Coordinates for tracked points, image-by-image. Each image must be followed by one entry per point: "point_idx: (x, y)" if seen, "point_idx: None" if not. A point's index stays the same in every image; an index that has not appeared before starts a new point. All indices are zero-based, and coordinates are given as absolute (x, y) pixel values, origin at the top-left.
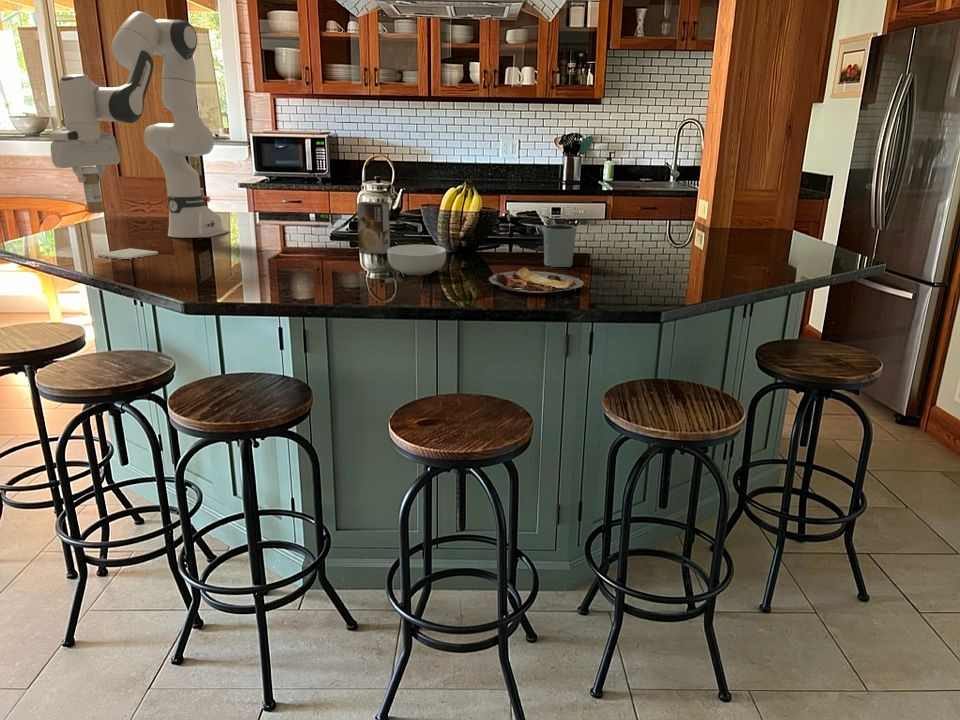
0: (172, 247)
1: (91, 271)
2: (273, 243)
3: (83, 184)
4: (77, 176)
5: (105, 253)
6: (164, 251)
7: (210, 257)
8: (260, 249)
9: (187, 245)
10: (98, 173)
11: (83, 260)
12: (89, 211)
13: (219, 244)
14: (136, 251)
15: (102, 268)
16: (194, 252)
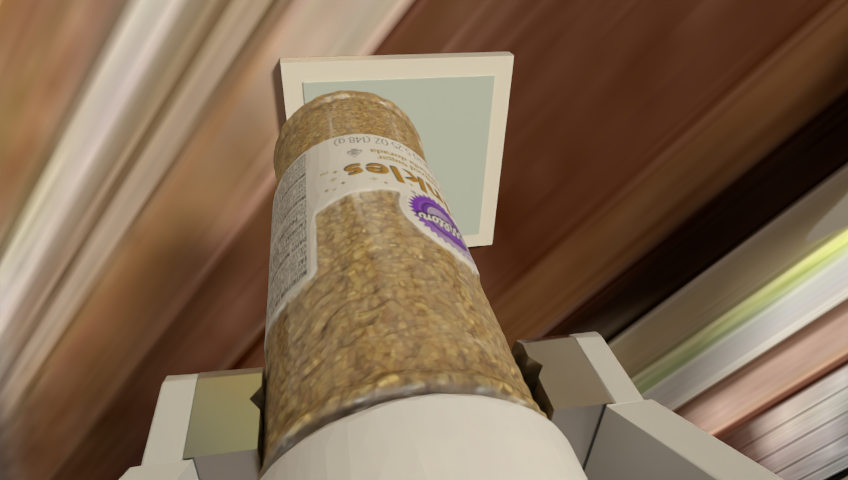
0: (666, 145)
1: (39, 352)
2: (821, 354)
3: (273, 319)
4: (142, 461)
5: (312, 96)
6: (559, 202)
7: None
8: (698, 402)
9: (733, 157)
10: (617, 449)
11: (152, 94)
12: (274, 168)
13: (779, 240)
14: (443, 177)
15: (111, 331)
16: (580, 306)
